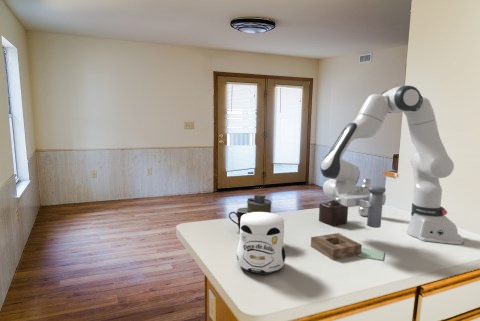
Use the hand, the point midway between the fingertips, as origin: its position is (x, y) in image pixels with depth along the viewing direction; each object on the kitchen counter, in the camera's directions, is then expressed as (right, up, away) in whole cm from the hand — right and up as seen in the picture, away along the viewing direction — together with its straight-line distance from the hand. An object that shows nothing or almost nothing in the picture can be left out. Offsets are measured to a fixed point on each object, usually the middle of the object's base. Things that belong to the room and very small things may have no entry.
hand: (377, 203), depth 131 cm
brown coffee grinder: (-6, -15, +45) cm, 48 cm away
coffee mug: (-51, -16, +28) cm, 61 cm away
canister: (-45, -18, +16) cm, 51 cm away
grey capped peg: (-1, -9, +2) cm, 9 cm away
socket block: (-14, -20, +7) cm, 25 cm away
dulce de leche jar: (-45, -22, -9) cm, 51 cm away
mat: (-1, -20, +4) cm, 21 cm away
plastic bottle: (+15, -14, +55) cm, 59 cm away
